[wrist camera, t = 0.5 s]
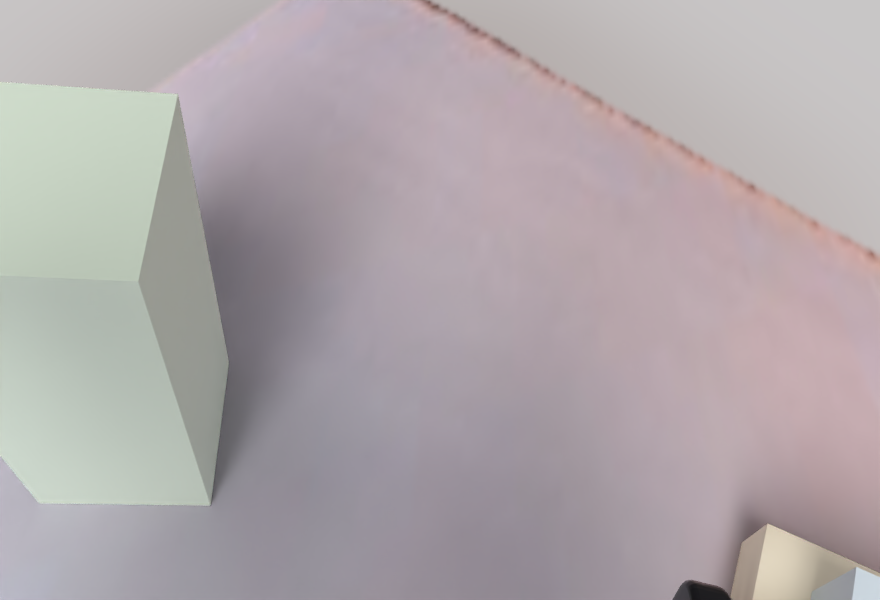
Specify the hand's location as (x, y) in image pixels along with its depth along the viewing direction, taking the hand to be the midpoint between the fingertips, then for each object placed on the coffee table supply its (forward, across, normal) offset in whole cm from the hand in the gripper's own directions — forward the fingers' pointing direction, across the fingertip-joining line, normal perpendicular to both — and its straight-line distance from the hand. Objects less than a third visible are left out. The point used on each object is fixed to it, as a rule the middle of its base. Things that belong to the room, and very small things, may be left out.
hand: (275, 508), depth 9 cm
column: (+12, +7, +13) cm, 19 cm away
